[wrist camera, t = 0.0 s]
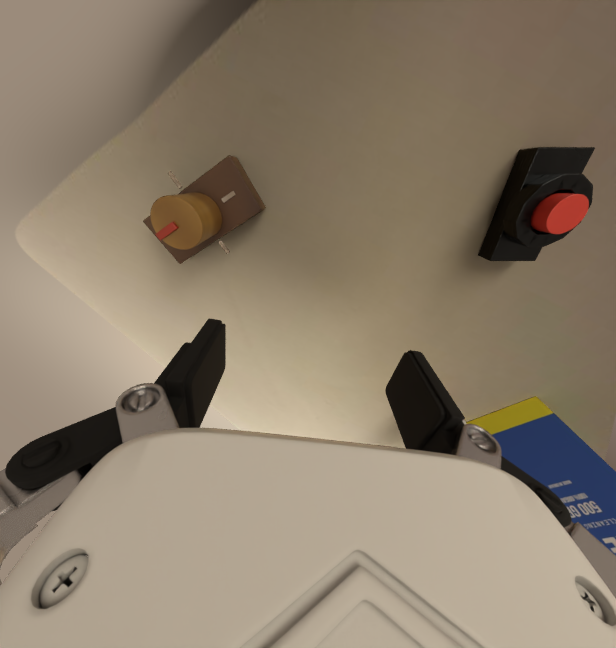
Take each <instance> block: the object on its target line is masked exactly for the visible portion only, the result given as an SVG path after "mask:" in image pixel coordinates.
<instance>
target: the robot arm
mask: <svg viewBox="0 0 616 648" xmlns="http://www.w3.org/2000/svg"><path fill="white" fill-rule="evenodd" d="M224 370H225V324H222V321H221V320H215V319H208V320H207V321H206V323H205V324H204V326H203V327H202V329H201V330H200V331H199V333H198V334H197V336H196V337H195V338H194V340H193V341H192V343H184V345H183V346H182V347H181V348H180V350H179V351H178V352H177V354H176V355H175V356H174V358H173V359H172V360H171V362H170V363H169V364H168V365H167V367H166V368H165V369H164V371H163V372H162V373H161V375H160V376H159V377H158V379H157V380H156V381H155V383H154V384H153V383H144V384H140V385H137V386H134V387H132V388H130V389H128V390H127V391H125V392H123V393H122V395H121V396H119V398H118V400H117V401H116V407H114V408H112V409H109V410H107V411H104V412H102V413H100V414H97V415H94V416H92V417H89V418H87V419H85V420H82V421H80V422H77V423H75V424H72V425H70V426H67V427H65V428H62V429H60V430H57V431H55V432H53V433H50V434H47V435H45V436H42V437H40V438H38V439H36V440H34V441H32V442H30V443H29V444H27V445H26V446H24V447H23V448H21V449H20V450H19V451H18V452H17V453H16V454H15V455H14V456H13V457H12V458H11V460H10V461H9V463H8V464H7V466H6V468H5V469H4V470H2V471H0V568H1V565H2V562H3V560H4V558H5V557H6V556H7V554H8V553H9V551H10V550H11V549H12V548H13V547H14V546H15V545H16V544H17V543H18V542H19V541H20V540H21V539H22V538H23V537H24V536H26V535H27V534H28V533H30V532H31V531H32V530H33V529H34V528H36V527H37V526H38V525H37V524H36V523H37V522H38V521H39V520H41V519H42V518H43V517H44V516H46V515H47V514H48V513H50V512H51V511H55V510H57V511H56V512H55V513H54V514H53V516H52V517H51V518H50V520H49V521H48V522H47V524H46V525H45V526H44V528H43V529H42V530H41V532H40V533H39V535H38V536H37V537H36V539H35V540H34V541H33V542H32V544H31V545H30V546H29V548H28V549H27V550H26V552H25V553H24V554H23V556H22V557H21V559H20V560H19V561H18V562H17V564H16V565H15V566H14V568H13V569H12V570H11V572H10V573H9V574H8V576H7V577H6V578H5V580H4V581H3V583H2V582H1V581H0V648H616V555H614V554H613V553H612V552H611V551H610V550H609V549H608V548H607V547H606V546H604V545H603V544H602V543H601V542H600V541H599V540H598V539H597V538H596V537H594V536H593V535H592V534H591V533H590V532H589V531H588V530H587V529H586V528H584V527H583V526H582V525H581V524H580V523H579V522H577V523H575V524H574V523H573V522H572V519H571V515H570V513H569V511H568V509H567V507H566V506H565V505H564V503H563V502H562V501H561V499H560V498H559V497H558V496H557V495H556V494H555V493H554V492H552V491H551V490H550V489H548V488H547V487H546V486H544V485H543V484H542V483H540V482H539V481H537V480H536V479H534V478H533V477H531V476H530V475H529V474H527V473H526V472H524V471H523V470H521V469H520V468H519V467H517V466H516V465H514V464H513V463H511V462H510V461H508V460H507V459H506V458H504V457H503V456H501V455H502V451H501V447H500V445H499V443H498V442H497V440H496V439H495V438H494V437H493V436H492V435H491V434H490V433H489V432H488V431H486V430H485V429H483V428H482V427H480V426H478V425H475V424H464V423H463V420H464V419H465V417H464V416H463V414H462V413H461V411H460V410H459V408H458V407H457V405H456V404H455V402H454V401H453V399H452V398H451V396H450V395H449V393H448V392H447V390H446V389H445V387H444V386H443V384H442V383H441V381H440V380H439V378H438V377H437V375H436V374H435V372H434V371H433V369H432V368H431V366H430V364H429V363H428V361H427V360H426V358H425V357H424V355H423V354H422V353H421V352H418V351H411V350H410V351H408V352H406V353H404V355H403V356H402V358H401V360H400V362H399V364H398V366H397V368H396V370H395V371H394V373H393V375H392V377H391V379H390V381H389V383H388V384H387V386H386V395H387V398H388V401H389V404H390V406H391V409H392V412H393V414H394V417H395V420H396V423H397V425H398V428H399V431H400V434H401V436H402V439H403V442H404V445H405V447H406V449H405V448H396V447H388V446H379V445H370V444H361V443H353V442H344V441H335V440H325V439H316V438H307V437H298V436H288V435H279V434H269V433H260V432H250V431H239V430H227V429H216V428H200V425H201V423H202V421H203V418H204V416H205V414H206V411H207V409H208V407H209V405H210V402H211V400H212V398H213V395H214V393H215V391H216V389H217V386H218V384H219V382H220V379H221V377H222V375H223V373H224ZM85 555H87V556H88V557H87V556H85Z"/></svg>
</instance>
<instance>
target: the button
mask: <svg viewBox="0 0 616 648" xmlns="http://www.w3.org/2000/svg"><path fill="white" fill-rule="evenodd" d="M588 207H589V201H588V198H587V197H586V196H585V195H582V194H570V193H556V194H553V195H550V196H548V197H547V198H545V199H544V200H542V201H541V202H540V203H539V204H538V205H537V207H536V208H535V210H534V212H533V214H532V216H531V225H532V227H533V228H534V229H535V230H538V231H542V232H547V233H551V234H562V233H565V232H567V231H569V230H571V229H573V228H574V227H575V226H576V225H578V224H579V223H580V222H581V220H582V219H583V218H584V216H585V215H586V213H587V211H588Z"/></svg>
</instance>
